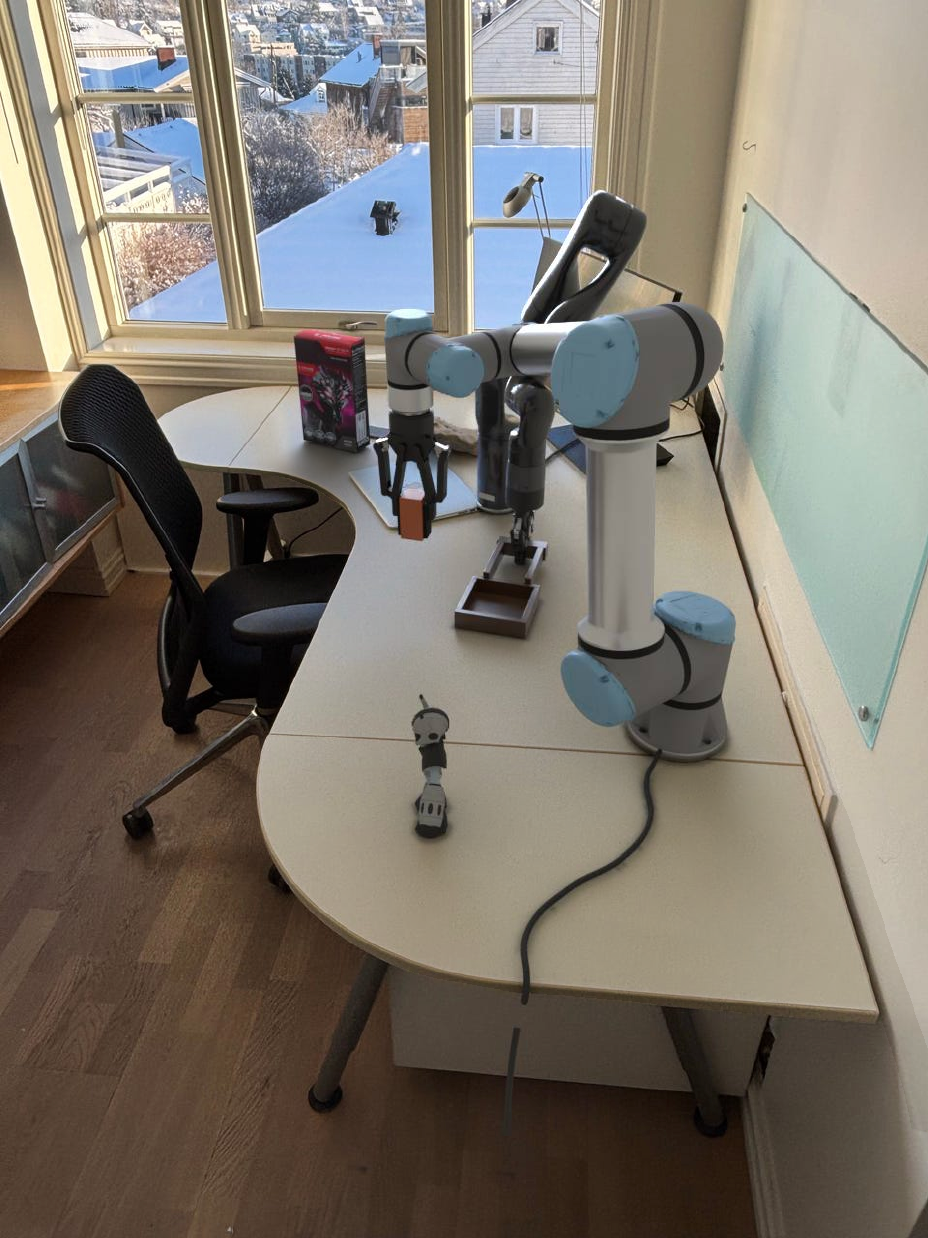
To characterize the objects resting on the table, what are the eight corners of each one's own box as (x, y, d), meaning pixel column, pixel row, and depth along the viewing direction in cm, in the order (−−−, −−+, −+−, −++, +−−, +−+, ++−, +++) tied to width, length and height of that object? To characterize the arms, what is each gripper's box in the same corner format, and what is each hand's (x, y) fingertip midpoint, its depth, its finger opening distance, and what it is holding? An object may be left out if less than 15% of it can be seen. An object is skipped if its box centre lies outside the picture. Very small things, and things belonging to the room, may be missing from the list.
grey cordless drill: (452, 871, 119) (452, 756, 108) (414, 872, 119) (410, 757, 108) (447, 767, 136) (446, 657, 124) (413, 768, 135) (410, 658, 124)
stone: (393, 439, 229) (398, 415, 226) (412, 430, 242) (417, 408, 240) (473, 463, 225) (479, 439, 223) (488, 453, 238) (493, 431, 236)
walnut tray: (524, 639, 163) (526, 618, 161) (454, 627, 166) (454, 606, 164) (554, 562, 185) (555, 543, 183) (491, 553, 188) (492, 534, 186)
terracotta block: (422, 541, 163) (421, 500, 159) (400, 538, 164) (399, 497, 160) (429, 531, 166) (428, 490, 162) (407, 528, 167) (406, 488, 163)
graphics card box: (301, 441, 235) (290, 334, 220) (317, 432, 240) (307, 326, 225) (357, 454, 229) (350, 345, 213) (372, 444, 234) (367, 337, 218)
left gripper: (537, 499, 170) (532, 580, 179) (551, 469, 181) (546, 546, 191) (497, 494, 171) (495, 574, 181) (514, 464, 182) (511, 541, 192)
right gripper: (466, 404, 153) (466, 529, 166) (370, 395, 157) (377, 518, 170) (454, 420, 147) (455, 549, 160) (354, 410, 151) (362, 536, 164)
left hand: (521, 559), depth 186 cm, fingers closed on walnut tray, 2 cm apart
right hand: (415, 533), depth 165 cm, fingers closed on terracotta block, 4 cm apart
